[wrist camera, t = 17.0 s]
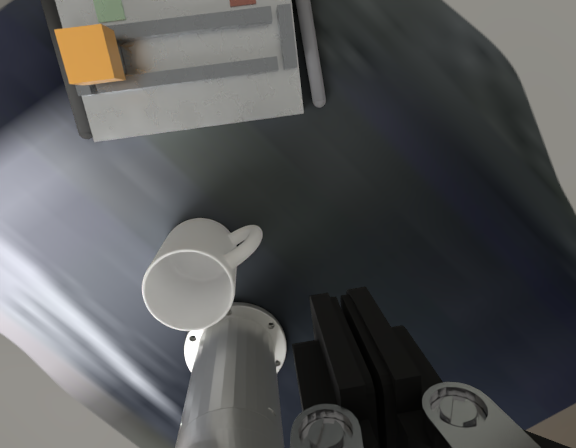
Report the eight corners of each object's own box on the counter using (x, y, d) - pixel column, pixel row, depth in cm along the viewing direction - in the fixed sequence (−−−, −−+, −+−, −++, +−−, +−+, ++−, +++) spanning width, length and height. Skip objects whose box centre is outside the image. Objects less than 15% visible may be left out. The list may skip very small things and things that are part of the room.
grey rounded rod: (325, 105, 42) (328, 106, 40) (312, 108, 42) (315, 108, 40) (302, -38, 37) (304, -43, 36) (288, -35, 37) (289, -40, 36)
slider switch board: (301, 112, 42) (305, 113, 38) (101, 140, 41) (88, 143, 37) (284, -39, 37) (287, -53, 34) (60, -13, 36) (40, -25, 33)
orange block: (134, 81, 37) (114, 78, 32) (96, 86, 37) (69, 84, 31) (123, 35, 36) (100, 23, 30) (84, 40, 36) (54, 29, 30)
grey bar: (97, 137, 40) (92, 138, 39) (84, 139, 40) (78, 140, 39) (57, -9, 36) (50, -13, 35) (42, -7, 36) (34, -11, 35)
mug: (242, 186, 43) (240, 211, 34) (278, 246, 46) (286, 286, 36) (150, 238, 44) (122, 277, 34) (191, 294, 47) (175, 345, 37)
